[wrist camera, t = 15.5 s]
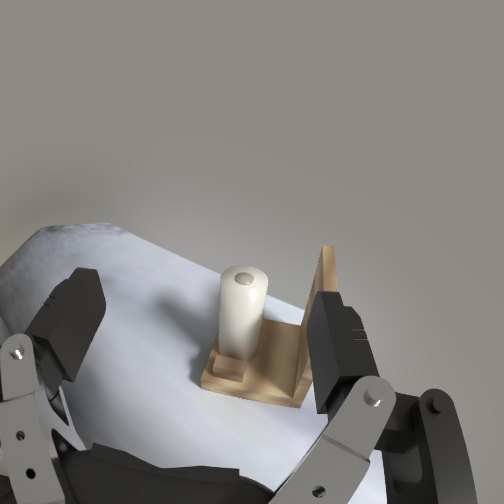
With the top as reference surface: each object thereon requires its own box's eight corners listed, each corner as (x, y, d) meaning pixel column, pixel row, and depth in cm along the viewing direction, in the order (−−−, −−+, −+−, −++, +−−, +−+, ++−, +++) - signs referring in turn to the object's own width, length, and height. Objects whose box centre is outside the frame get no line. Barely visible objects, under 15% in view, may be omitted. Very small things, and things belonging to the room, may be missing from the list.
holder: (201, 388, 38) (195, 293, 28) (225, 321, 50) (230, 228, 40) (299, 408, 36) (338, 320, 27) (306, 337, 48) (333, 246, 38)
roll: (214, 358, 40) (214, 288, 33) (223, 330, 45) (227, 260, 37) (253, 366, 39) (264, 297, 32) (259, 338, 44) (271, 268, 37)
